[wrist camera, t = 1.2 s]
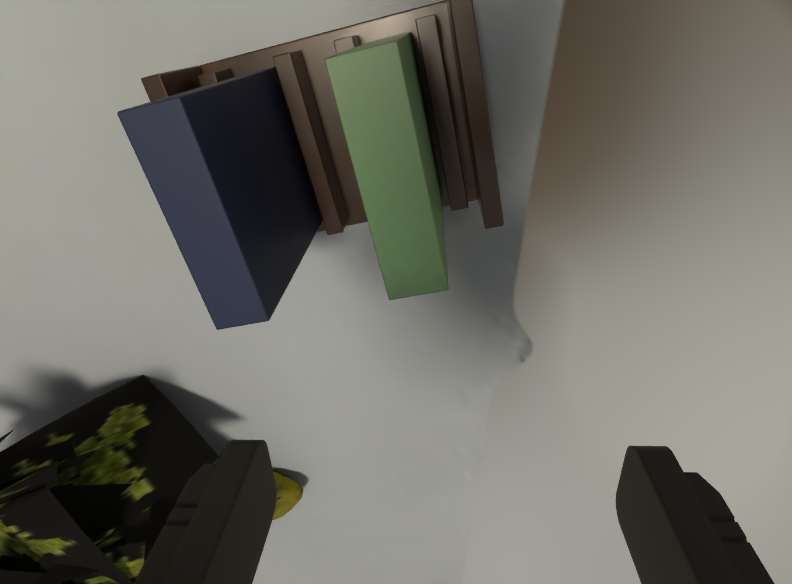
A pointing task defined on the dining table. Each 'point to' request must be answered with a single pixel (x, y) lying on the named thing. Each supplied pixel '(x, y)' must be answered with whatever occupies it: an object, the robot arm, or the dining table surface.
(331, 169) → the book rack
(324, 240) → the dining table surface
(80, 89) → the dining table surface
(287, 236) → the navy book
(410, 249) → the green book
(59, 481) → the potted plant
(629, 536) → the robot arm
